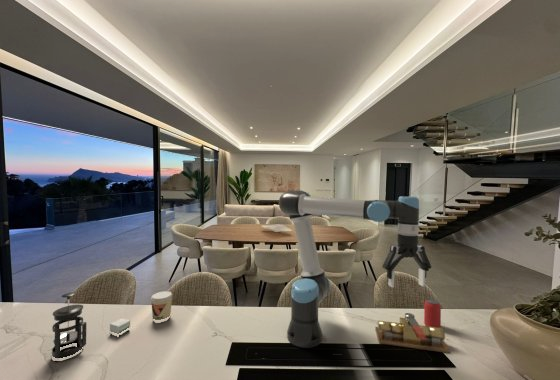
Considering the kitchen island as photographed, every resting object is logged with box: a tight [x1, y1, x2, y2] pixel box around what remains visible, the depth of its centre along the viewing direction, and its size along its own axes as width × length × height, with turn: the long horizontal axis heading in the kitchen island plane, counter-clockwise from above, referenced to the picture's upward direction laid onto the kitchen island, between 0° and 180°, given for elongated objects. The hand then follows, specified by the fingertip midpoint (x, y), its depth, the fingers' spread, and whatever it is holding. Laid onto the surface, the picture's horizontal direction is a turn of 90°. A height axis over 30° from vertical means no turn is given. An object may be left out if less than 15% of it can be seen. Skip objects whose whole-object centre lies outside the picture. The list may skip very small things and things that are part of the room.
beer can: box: [423, 297, 442, 328], centre depth 115 cm, size 7×7×12 cm
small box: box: [109, 317, 131, 334], centre depth 108 cm, size 6×6×5 cm
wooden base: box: [374, 317, 450, 354], centre depth 104 cm, size 26×10×9 cm, turn 77°
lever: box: [404, 312, 425, 339], centre depth 98 cm, size 16×4×2 cm, turn 167°
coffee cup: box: [150, 290, 173, 320], centre depth 119 cm, size 9×9×12 cm
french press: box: [51, 292, 87, 358], centre depth 94 cm, size 12×9×23 cm
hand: (406, 286), depth 100 cm, fingers open, 13 cm apart
